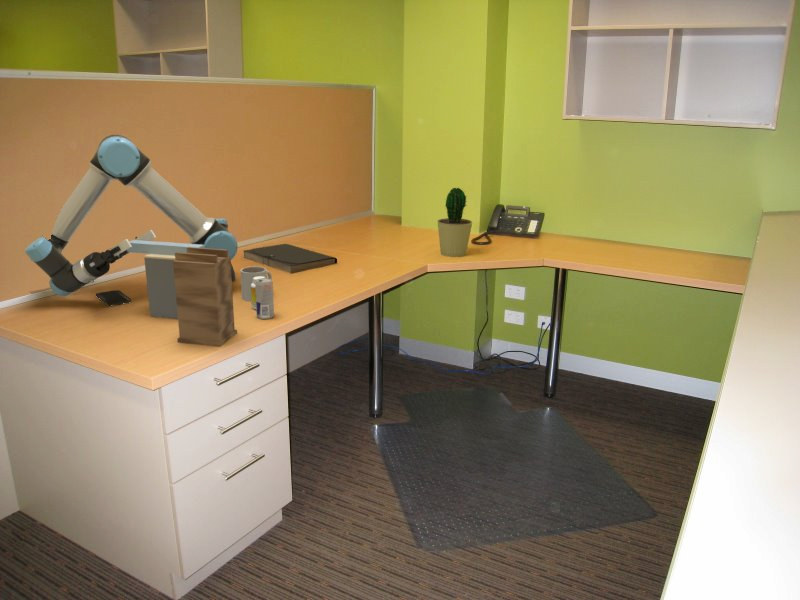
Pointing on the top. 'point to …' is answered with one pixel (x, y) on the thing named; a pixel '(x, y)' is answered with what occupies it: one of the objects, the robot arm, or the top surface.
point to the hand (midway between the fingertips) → (141, 238)
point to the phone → (113, 297)
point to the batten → (160, 247)
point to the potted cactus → (454, 226)
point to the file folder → (289, 258)
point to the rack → (204, 296)
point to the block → (161, 285)
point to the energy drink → (264, 298)
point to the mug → (251, 279)
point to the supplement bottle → (254, 291)
